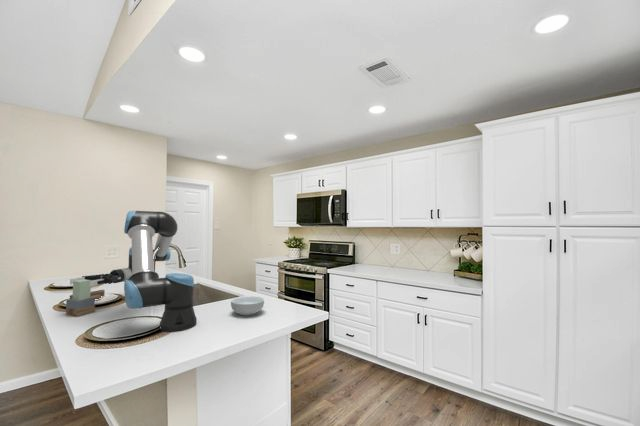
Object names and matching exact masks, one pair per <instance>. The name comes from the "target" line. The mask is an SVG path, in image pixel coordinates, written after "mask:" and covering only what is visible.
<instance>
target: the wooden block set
mask: <svg viewBox="0 0 640 426" xmlns="http://www.w3.org/2000/svg"><path fill="white" fill-rule="evenodd" d="M101 296H104V297H105V289H98V290H93V291H90V297H95V299H99V298H101ZM72 298H73V294H70V295H69V299H72ZM101 299H102V298H101Z"/></svg>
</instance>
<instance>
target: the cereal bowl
mask: <svg viewBox="0 0 640 426" xmlns="http://www.w3.org/2000/svg"><path fill="white" fill-rule="evenodd" d="M264 299H265V298H264V297H260V296H255V295H254V296H253V295H252V296H251V295H250V296H249V295H247V296H246V295H245V296H239V297H235V298H232V299H231V301H230V307H231V309H232V311H234V313H237V314H239V315H241V316H246V317H247V316H253V315H255V314H256V313H258V312H260V311H261V310H262V309H263V308H264V305H265V300H264Z"/></svg>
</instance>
